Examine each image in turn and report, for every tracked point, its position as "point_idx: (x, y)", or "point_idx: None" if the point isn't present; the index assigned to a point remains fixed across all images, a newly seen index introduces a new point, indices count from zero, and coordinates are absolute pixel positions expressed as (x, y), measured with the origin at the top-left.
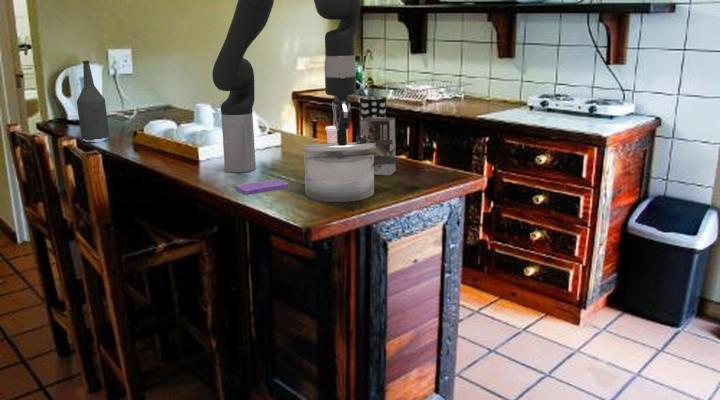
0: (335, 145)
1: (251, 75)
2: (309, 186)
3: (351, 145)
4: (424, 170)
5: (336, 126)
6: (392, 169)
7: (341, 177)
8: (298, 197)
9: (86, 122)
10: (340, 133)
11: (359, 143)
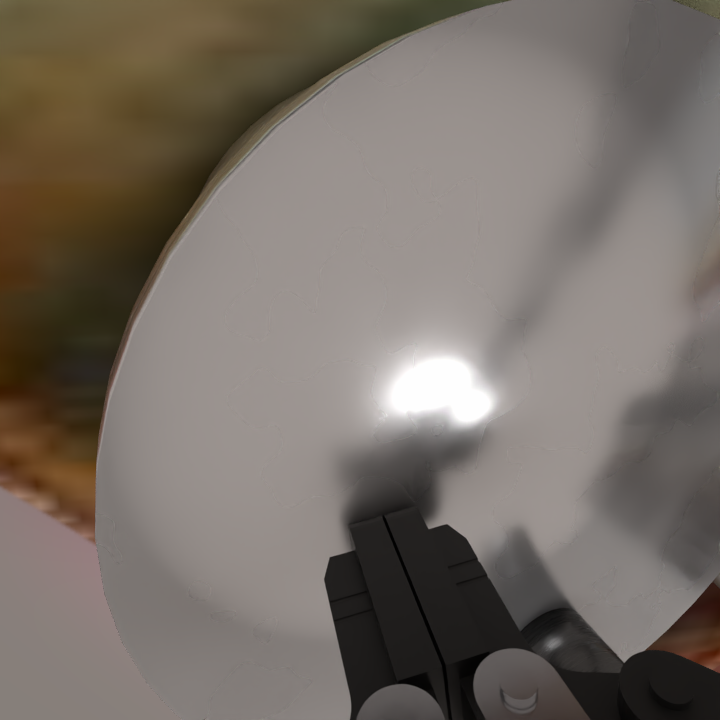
0: (358, 483)
1: None
2: (291, 102)
3: (176, 685)
4: (685, 631)
5: (516, 705)
6: None
7: None
8: (301, 7)
9: None
10: (350, 681)
11: None
